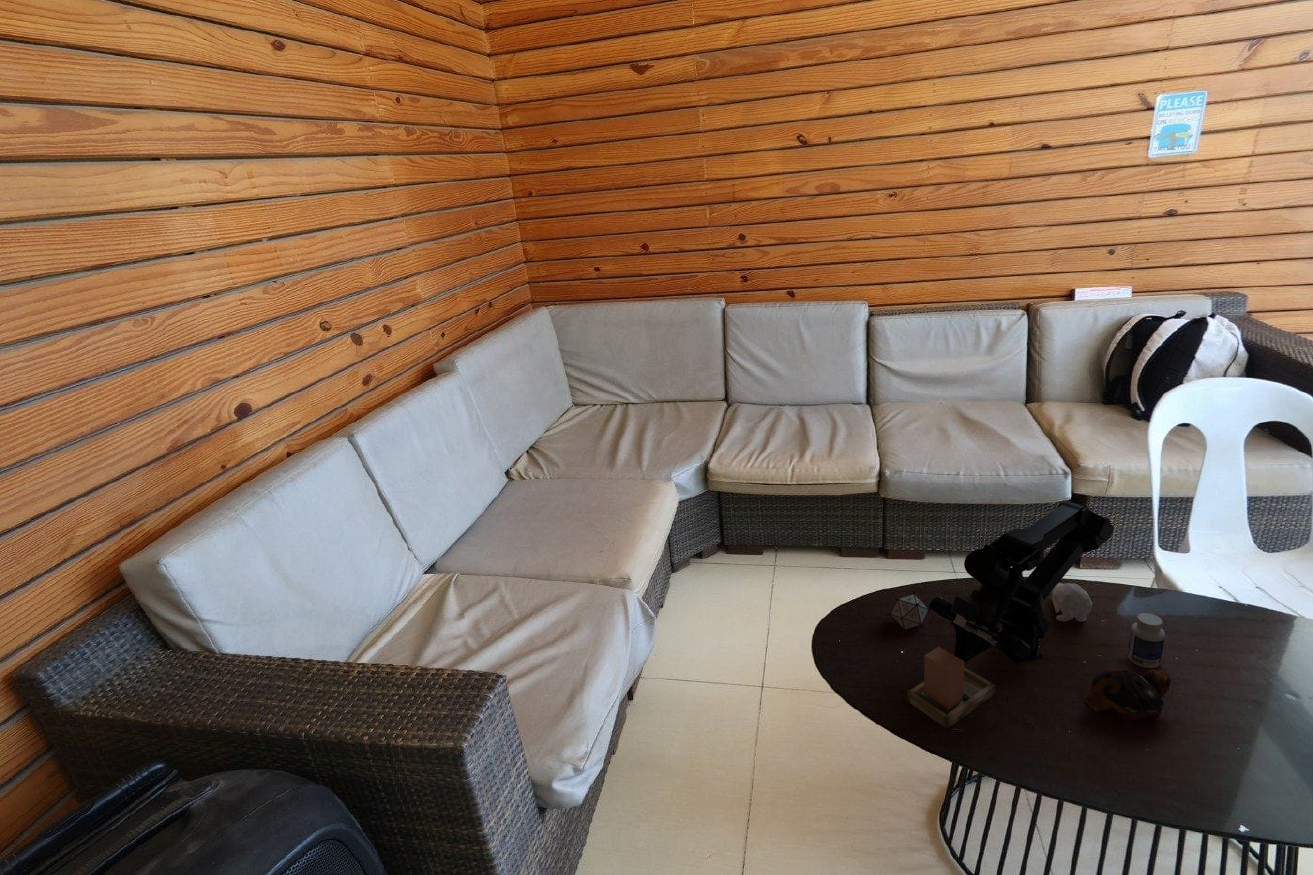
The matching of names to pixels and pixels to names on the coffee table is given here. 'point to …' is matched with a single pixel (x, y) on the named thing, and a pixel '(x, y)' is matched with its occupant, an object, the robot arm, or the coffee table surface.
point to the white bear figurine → (1071, 602)
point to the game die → (909, 611)
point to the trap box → (973, 696)
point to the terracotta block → (943, 677)
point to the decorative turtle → (1128, 694)
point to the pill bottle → (1146, 641)
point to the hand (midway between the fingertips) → (955, 666)
